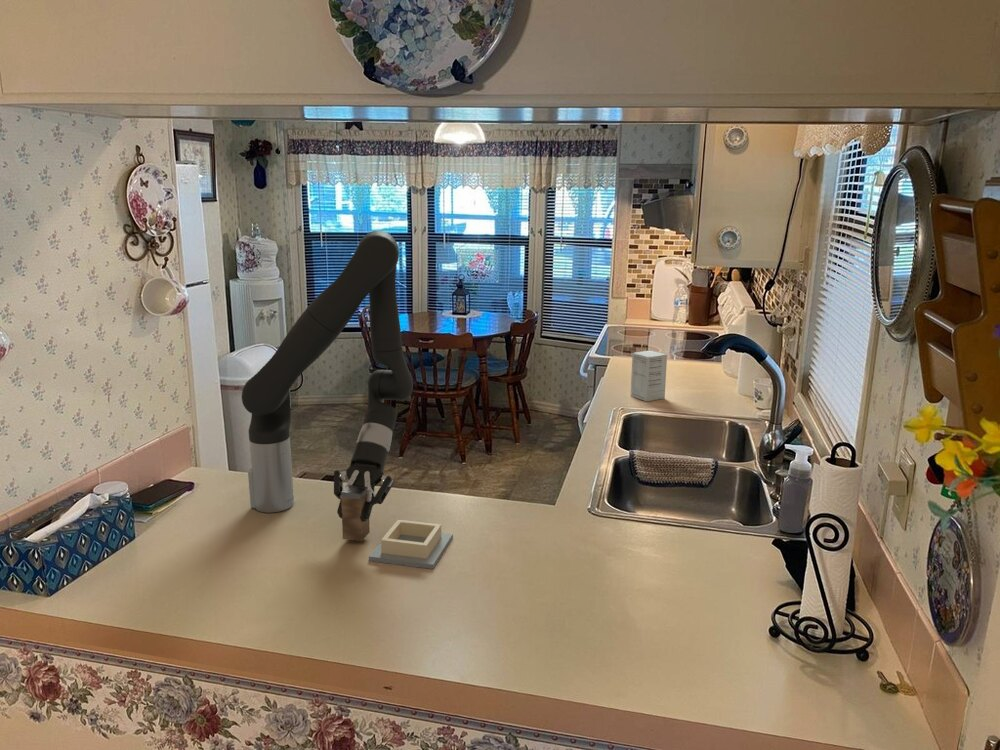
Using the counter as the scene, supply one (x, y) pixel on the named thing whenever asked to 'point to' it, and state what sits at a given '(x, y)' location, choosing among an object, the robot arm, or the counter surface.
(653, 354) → the supplement box
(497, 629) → the counter surface
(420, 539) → the jig
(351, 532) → the tall grey-topped block
